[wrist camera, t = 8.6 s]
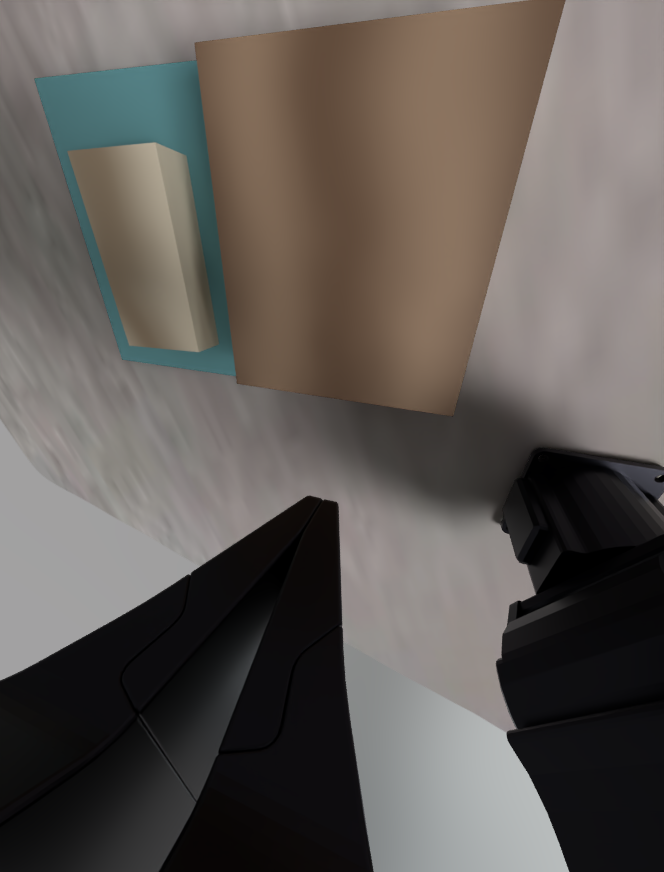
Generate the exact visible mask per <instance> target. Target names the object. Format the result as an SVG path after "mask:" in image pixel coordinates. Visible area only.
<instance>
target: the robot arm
mask: <svg viewBox="0 0 664 872" xmlns="http://www.w3.org/2000/svg"><path fill="white" fill-rule="evenodd" d="M541 455H546V457H545V458H543V459H539V456H541ZM658 475H662V476H661V477H659V478H655V477H656V476H658ZM663 492H664V467H661V466H654V465H648V464H642V463H636V462H630V461H624V460H618V459H611V458H605V457H599V456H593V455H587V454H581V453H575V452H568V451H562V450H556V449H550V448H537V449H535V450H534V451H533V452H532V454H531V456H530V458H529V460H528V463H527V465H526V467H525V469H524V472H523V474H522V476H521V477H519V478H518V479H516V480H515V482H514V484H513V487H512V489H511V491H510V493H509V496H508V498H507V500H506V503H505V505H504V507H503V513H504V516H503V519H502V521H501V528H502V530H503V531H504V532H505V533H507V534H509V535H510V538H511V542H512V545H513V549H514V552H515V556H516V558H517V560H518V561H519V563H523V564H527V567H528V570H529V573H530V577H531V580H532V583H533V586H534V590H535V593H536V595H535V596H533V597H530V598H528V599H526V600H524V601H522V602H521V601H517V602H515V603H513V604H511V605H510V607H509V615H508V623H507V627H506V629H505V631H504V633H503V636H502V658H500V659H498V660H497V661H496V669H497V674H498V679H499V683H500V688H501V691H502V694H503V697H504V700H505V703H506V706H507V709H508V712H509V714H510V716H511V718H512V721H513V723H514V725H515V727H516V729H515V730H510V731H507V739H508V742H509V743H510V745H511V747H512V748H513V750H514V751H515V753H516V755H517V756H518V758H519V760H520V761H521V763H522V764H523V766H524V768H525V769H526V771H527V772H528V774H529V776H530V778H531V779H532V782H533V784H534V786H535V788H536V790H537V792H538V794H539V796H540V798H541V800H542V802H543V805H544V807H545V809H546V811H547V813H548V816H549V818H550V821H551V823H552V826H553V828H554V831H555V833H556V836H557V839H558V841H559V844H560V847H561V850H562V853H563V855H564V858H565V861H566V864H567V867H568V869H569V872H664V506H663V505H662V504H661V503H660V502H659V501H658V499H659V498H660V496H661V495H662V494H663ZM0 872H374V871H373V866H372V859H371V853H370V847H369V841H368V835H367V828H366V821H365V814H364V808H363V801H362V795H361V788H360V781H359V774H358V768H357V761H356V754H355V749H354V741H353V735H352V728H351V721H350V713H349V705H348V698H347V689H346V681H345V667H344V651H343V628H342V598H341V568H340V537H339V506H338V503H337V502H334V501H330V500H322V499H321V498H318V497H313V496H306V497H305V498H303V499H302V500H300V501H299V502H297V503H296V504H294V505H293V506H291V507H290V508H288V509H287V510H285V511H283V512H282V513H280V514H279V515H277V516H276V517H274V518H273V519H271V520H270V521H268V522H267V523H265V524H264V525H262V526H261V527H259V528H258V529H256V530H255V531H253V532H252V533H250V534H249V535H247V536H246V537H244V538H243V539H241V540H240V541H238V542H237V543H235V544H234V545H232V546H231V547H229V548H228V549H226V550H224V551H223V552H221V553H220V554H218V555H217V556H215V557H214V558H212V559H211V560H209V561H208V562H206V563H205V564H203V565H202V566H200V567H199V568H197V569H196V570H194V571H193V572H192V573H191V575H186V576H185V577H183V578H182V579H180V580H179V581H177V582H176V583H174V584H173V585H171V586H170V587H168V588H167V589H165V590H163V591H162V592H160V593H159V594H157V595H155V596H154V597H152V598H151V599H149V600H147V601H146V602H144V603H142V604H141V605H139V606H137V607H136V608H134V609H132V610H130V611H129V612H127V613H126V614H123V615H122V616H120V617H118V618H117V619H115V620H113V621H111V622H109V623H108V624H106V625H104V626H102V627H101V628H99V629H97V630H95V631H93V632H92V633H90V634H88V635H86V636H84V637H83V638H81V639H79V640H77V641H75V642H74V643H72V644H70V645H68V646H66V647H65V648H63V649H61V650H59V651H58V652H56V653H54V654H52V655H50V656H48V657H47V658H45V659H43V660H41V661H39V662H38V663H36V664H34V665H32V666H30V667H28V668H26V669H24V670H23V671H20V672H18V673H16V674H14V675H12V676H10V677H7V678H5V679H3V680H0Z"/></svg>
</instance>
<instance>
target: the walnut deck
mask: <svg viewBox="0 0 664 872" xmlns="http://www.w3.org/2000/svg"><path fill="white" fill-rule="evenodd" d="M564 4H565V0H528V1H520V2H512V3H504V4H496V5H489V6H481V7H473V8H465V9H457V10H449V11H441V12H433V13H425V14H417V15H409V16H402V17H394V18H386V19H378V20H370V21H362V22H354V23H346V24H338V25H330V26H322V27H315V28H307V29H299V30H291V31H283V32H275V33H267V34H259V35H251V36H243V37H235V38H227V39H220V40H212V41H204V42H196V43H195V51H196V59H197V67H198V75H199V83H200V91H201V99H202V107H203V115H204V123H205V131H206V139H207V147H208V155H209V163H210V171H211V179H212V187H213V195H214V203H215V211H216V219H217V227H218V235H219V243H220V251H221V259H222V267H223V275H224V283H225V291H226V299H227V307H228V315H229V323H230V331H231V339H232V347H233V355H234V363H235V371H236V379H237V384H242V385H249V386H256V387H262V388H269V389H275V390H282V391H289V392H295V393H302V394H308V395H315V396H321V397H328V398H335V399H341V400H348V401H354V402H361V403H368V404H374V405H381V406H387V407H394V408H401V409H407V410H414V411H420V412H427V413H434V414H440V415H447V416H453V415H454V412H455V408H456V404H457V400H458V397H459V393H460V389H461V386H462V382H463V378H464V374H465V371H466V367H467V363H468V360H469V356H470V352H471V348H472V345H473V341H474V337H475V334H476V330H477V326H478V322H479V319H480V315H481V311H482V308H483V304H484V300H485V297H486V293H487V289H488V285H489V282H490V278H491V274H492V271H493V267H494V263H495V259H496V256H497V252H498V248H499V245H500V241H501V237H502V233H503V230H504V226H505V222H506V219H507V215H508V211H509V208H510V204H511V200H512V196H513V193H514V189H515V185H516V182H517V178H518V174H519V170H520V167H521V163H522V159H523V156H524V152H525V148H526V144H527V141H528V137H529V133H530V130H531V126H532V122H533V118H534V115H535V111H536V107H537V104H538V100H539V96H540V93H541V89H542V85H543V81H544V78H545V74H546V70H547V67H548V63H549V59H550V55H551V52H552V48H553V44H554V41H555V37H556V33H557V29H558V26H559V22H560V18H561V15H562V11H563V7H564Z"/></svg>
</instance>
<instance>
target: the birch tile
mask: <svg viewBox="0 0 664 872" xmlns="http://www.w3.org/2000/svg"><path fill="white" fill-rule="evenodd" d="M67 152H68V155H69V158H70V161H71V165H72V168H73V171H74V174H75V177H76V180H77V183H78V186H79V190H80V193H81V196H82V199H83V202H84V205H85V208H86V212H87V215H88V218H89V221H90V224H91V227H92V230H93V234H94V237H95V240H96V243H97V246H98V249H99V252H100V255H101V259H102V262H103V265H104V268H105V271H106V274H107V277H108V281H109V284H110V287H111V290H112V293H113V296H114V299H115V303H116V306H117V309H118V312H119V315H120V318H121V321H122V324H123V328H124V331H125V334H126V337H127V340H128V343H129V346H139V347H149V348H160V349H171V350H181V351H192V352H201V351H203V350H206V349H208V348H211V347H213V346H216V345H219V341H218V335H217V329H216V323H215V318H214V312H213V306H212V300H211V294H210V289H209V283H208V277H207V271H206V266H205V260H204V254H203V248H202V243H201V237H200V231H199V225H198V219H197V214H196V208H195V202H194V196H193V191H192V185H191V179H190V173H189V167H188V162H187V156H186V155H184V154H181V153H179V152H177V151H174V150H172V149H170V148H167V147H165V146H163V145H160V144H158V143H155V142H154V143H144V144H133V145H123V146H113V147H102V148H92V149H82V150H72V151H67Z"/></svg>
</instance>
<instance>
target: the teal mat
mask: <svg viewBox="0 0 664 872" xmlns="http://www.w3.org/2000/svg"><path fill="white" fill-rule="evenodd" d="M35 83H36V86H37V89H38V92H39V95H40V99H41V102H42V105H43V108H44V111H45V115H46V118H47V121H48V124H49V127H50V130H51V134H52V137H53V140H54V143H55V146H56V150H57V153H58V156H59V159H60V162H61V166H62V169H63V172H64V175H65V178H66V182H67V185H68V188H69V191H70V194H71V198H72V201H73V204H74V207H75V210H76V214H77V217H78V220H79V223H80V226H81V229H82V233H83V236H84V239H85V242H86V245H87V249H88V252H89V255H90V258H91V261H92V265H93V268H94V271H95V274H96V277H97V281H98V284H99V287H100V290H101V293H102V297H103V300H104V303H105V306H106V309H107V313H108V316H109V319H110V322H111V325H112V329H113V332H114V335H115V338H116V341H117V344H118V348H119V351H120V354H121V357H122V360H129V361H136V362H142V363H149V364H156V365H163V366H170V367H177V368H184V369H190V370H197V371H204V372H211V373H218V374H225V375H232V376H236V371H235V363H234V355H233V347H232V339H231V331H230V323H229V315H228V307H227V299H226V291H225V283H224V275H223V267H222V259H221V251H220V243H219V235H218V227H217V219H216V211H215V203H214V195H213V187H212V179H211V171H210V163H209V155H208V147H207V139H206V131H205V123H204V115H203V107H202V99H201V91H200V83H199V75H198V67H197V60H196V61H187V62H178V63H169V64H160V65H151V66H142V67H133V68H124V69H115V70H106V71H97V72H88V73H79V74H70V75H61V76H52V77H43V78H35ZM154 142H155V143H158V144H160V145H163V146H165V147H167V148H170V149H172V150H174V151H177V152H179V153H181V154H184V155H186V156H187V162H188V167H189V173H190V179H191V185H192V191H193V196H194V202H195V208H196V214H197V219H198V225H199V231H200V237H201V243H202V248H203V254H204V260H205V266H206V271H207V277H208V283H209V289H210V294H211V300H212V306H213V312H214V318H215V323H216V329H217V335H218V341H219V345H216V346H213V347H211V348H208V349H206V350H203V351H201V352H192V351H181V350H171V349H160V348H149V347H139V346H129V343H128V340H127V337H126V334H125V331H124V328H123V324H122V321H121V318H120V315H119V312H118V309H117V306H116V303H115V299H114V296H113V293H112V290H111V287H110V284H109V281H108V277H107V274H106V271H105V268H104V265H103V262H102V259H101V255H100V252H99V249H98V246H97V243H96V240H95V237H94V234H93V230H92V227H91V224H90V221H89V218H88V215H87V212H86V208H85V205H84V202H83V199H82V196H81V193H80V190H79V186H78V183H77V180H76V177H75V174H74V171H73V168H72V165H71V161H70V158H69V155H68V152H67V151H72V150H82V149H92V148H102V147H113V146H123V145H133V144H144V143H154Z"/></svg>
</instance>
